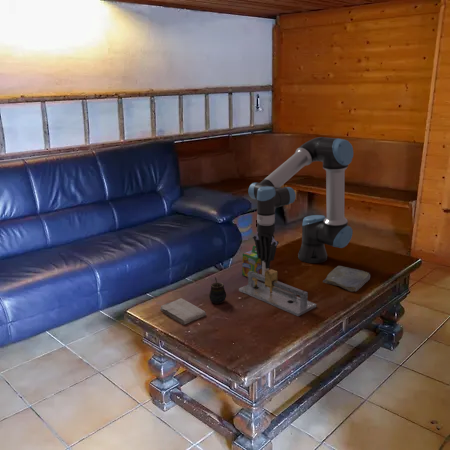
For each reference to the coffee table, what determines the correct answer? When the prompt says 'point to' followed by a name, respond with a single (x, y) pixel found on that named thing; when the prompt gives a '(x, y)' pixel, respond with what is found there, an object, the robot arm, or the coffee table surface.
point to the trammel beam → (277, 295)
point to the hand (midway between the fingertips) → (265, 274)
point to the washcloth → (182, 311)
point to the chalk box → (251, 262)
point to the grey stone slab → (347, 278)
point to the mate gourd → (217, 292)
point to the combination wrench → (285, 292)
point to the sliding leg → (270, 278)
